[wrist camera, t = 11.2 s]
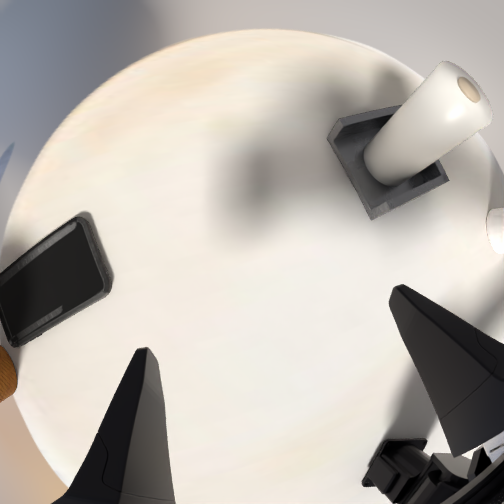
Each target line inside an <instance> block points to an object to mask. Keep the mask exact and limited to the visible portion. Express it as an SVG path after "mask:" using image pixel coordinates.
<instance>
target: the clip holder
mask: <svg viewBox="0 0 504 504" xmlns="http://www.w3.org/2000/svg"><path fill="white" fill-rule="evenodd" d="M401 106H402V105H399V106H393V107H388V108H383V109H379V110H374V111H369V112H365V113H361V114H356V115H352V116H348V117H344V118H340V119H338V121H337V123H336V124H335V126H334V127H333V129H332V131H331V132H330V134H329V135H328V137H327V140H328V141H329V143H330V145H331V146H332V148H333V150H334V151H335V153H336V155H337V157H338V158H339V160H340V162H341V164H342V165H343V167H344V169H345V171H346V173H347V174H348V176H349V178H350V180H351V182H352V184H353V186H354V187H355V189H356V191H357V193H358V195H359V197H360V199H361V201H362V203H363V205H364V207H365V209H366V211H367V213H368V215H369V217H370V219H371V220H373V219H375V218H377V217H379V216H381V215H383V214H385V213H387V212H389V211H391V210H394V209H396V208H398V207H400V206H402V205H404V204H406V203H408V202H410V201H411V200H413V199H415V198H417V197H419V196H421V195H423V194H425V193H427V192H429V191H431V190H433V189H435V188H437V187H439V186H440V185H442V184H444V183H446V182H448V181H449V179H448V177H447V175H446V173H445V171H444V169H443V167H442V165H441V163H440V161H439V159H438V160H436V161H435V162H433V163H432V164H430V165H429V166H427V167H426V168H424V169H423V170H421V171H420V172H418V173H417V174H415V175H414V176H412V177H411V178H409V179H408V180H406V181H405V182H403V183H402V184H400V185H398V186H387V185H384V184H382V183H380V182H379V181H377V180H376V179H375V178H374V177H373V176H372V175H371V173H370V172H369V170H368V169H367V167H366V164H365V161H364V149H365V147H366V145H367V144H368V143H369V142H370V140H371V139H372V138H373V137H374V136H375V135H376V134H377V133H378V132H379V131H380V129H381V128H382V127H383V126H384V125H385V124H386V123H387V122H388V121H389V119H390V118H391V117H392V116H393V115H394V114H395V113H396V112H397V111H398V109H399V108H400V107H401Z"/></svg>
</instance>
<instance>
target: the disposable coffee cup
mask: <svg viewBox="0 0 504 504" xmlns="http://www.w3.org/2000/svg"><path fill="white" fill-rule="evenodd" d="M16 387H17V376H16V371H15V368H14V365H13V363H12V360H11V358H10V356H9V354H8V353H7V351H6V350H5V349H4V348H3V347H2V346H1V345H0V402H1V401H3V400H5V399H6V398H8V397H9V396H10V395H12V394H13V393H14V392H15V390H16Z"/></svg>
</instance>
